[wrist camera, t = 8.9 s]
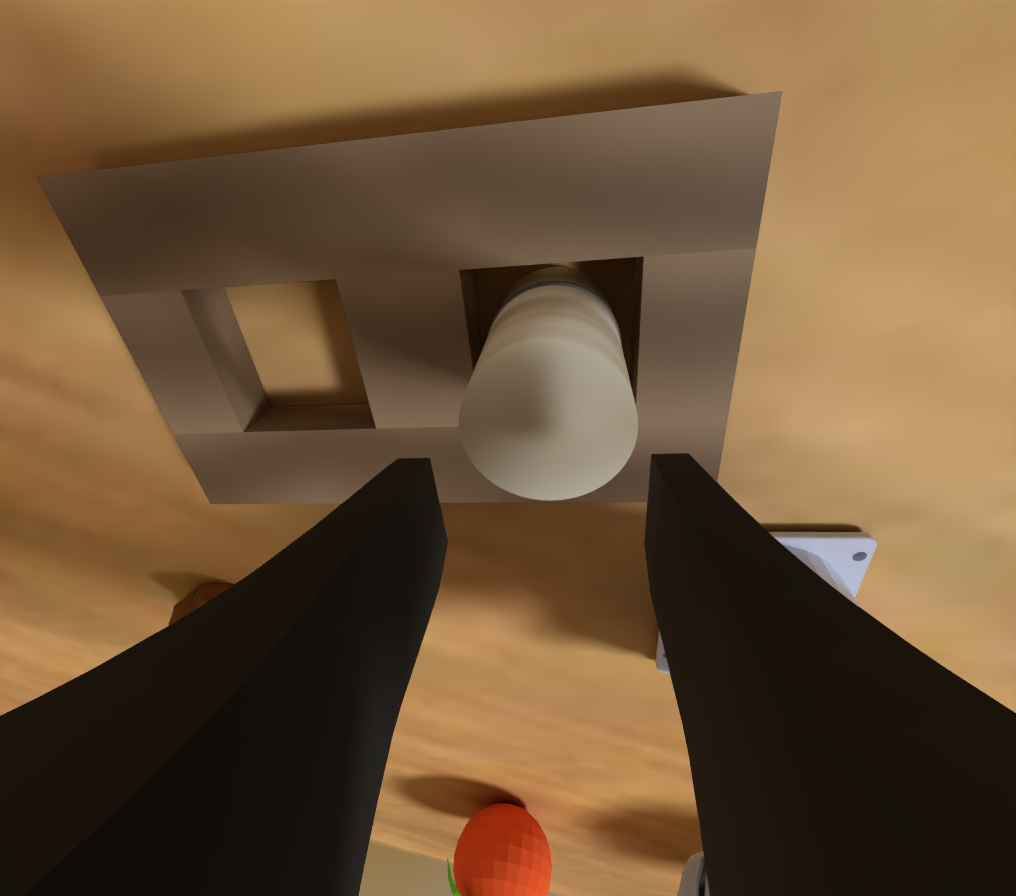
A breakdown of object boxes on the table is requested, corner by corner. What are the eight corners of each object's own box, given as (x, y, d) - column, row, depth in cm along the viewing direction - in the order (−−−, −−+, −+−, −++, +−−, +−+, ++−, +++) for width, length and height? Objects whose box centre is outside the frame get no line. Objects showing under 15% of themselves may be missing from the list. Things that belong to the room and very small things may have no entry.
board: (701, 469, 19) (713, 501, 18) (237, 476, 22) (210, 504, 20) (754, 96, 13) (782, 90, 11) (93, 171, 16) (36, 176, 14)
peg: (615, 377, 18) (638, 499, 12) (503, 384, 18) (471, 504, 12) (615, 258, 15) (643, 335, 10) (488, 271, 16) (440, 350, 10)
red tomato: (434, 797, 38) (409, 921, 32) (486, 769, 35) (469, 902, 29) (515, 834, 40) (506, 956, 34) (572, 811, 37) (572, 942, 31)
